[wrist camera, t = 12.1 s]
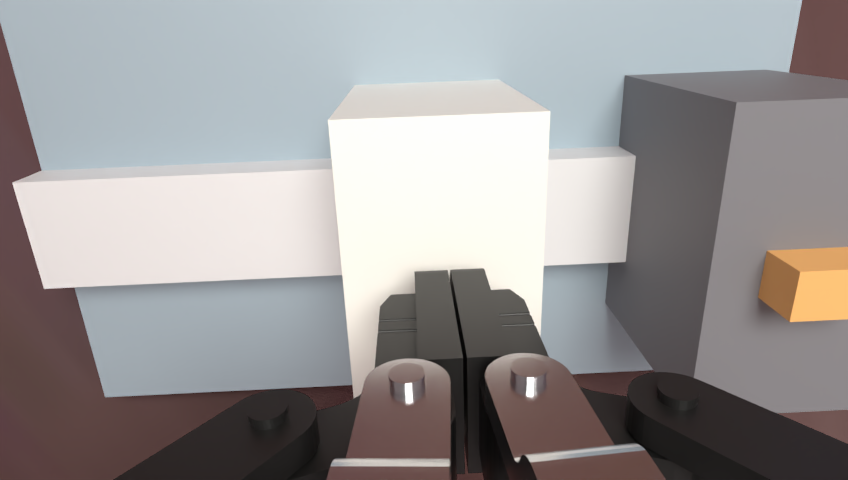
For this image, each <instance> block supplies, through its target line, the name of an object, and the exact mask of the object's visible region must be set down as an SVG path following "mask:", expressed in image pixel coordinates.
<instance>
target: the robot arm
mask: <svg viewBox="0 0 848 480" xmlns="http://www.w3.org/2000/svg"><path fill="white" fill-rule="evenodd" d="M414 273H415V294H394V295H390V296H389V297H388V298H387V299H386V300H385V302H384V303H383V304H382V305H381V306H380V312H379V323H378V335H377V346H376V358H375V369H373V370H372V371H371V372H370V373H369V374H368V376H367V377H366V379H365V381H364V385H363V389H362V393H361V394H360V395H359V396H357V397H356V398H354V399H352V400H350V401H348V402H345V403H343V404H340V405H337V406H333V407H329V408H326V409H322V410H318V411H316V406H315V404H314V402H313V400H312V399H310V398H309V397H308V396H307V395H305V394H303V393H300V392H297V391H293V390H270V391H265V392H261V393H257V394H254V395H252V396H249V397H247V398H245V399H243V400H241V401H240V402H238V403H236V404H235V405H233V406H231V407H230V408H228V409H227V410H225V411H223V412H222V413H220V414H219V415H217V416H215V417H214V418H212V419H211V420H209V421H207V422H206V423H204V424H202V425H201V426H199V427H198V428H196V429H194V430H193V431H191V432H190V433H188V434H186V435H185V436H183V437H181V438H180V439H178V440H177V441H175V442H173V443H172V444H170V445H169V446H167V447H165V448H164V449H162V450H161V451H159V452H157V453H156V454H154V455H152V456H151V457H149V458H148V459H146V460H144V461H143V462H141V463H140V464H138V465H136V466H135V467H133V468H132V469H130V470H128V471H127V472H125V473H123V474H122V475H120V476H119V477H117V478H115V479H114V480H457V474H465V462H464V445H465V452H466V459H467V466H468V473H483V477H484V480H848V444H846V443H844V442H842V441H839V440H837V439H835V438H833V437H830V436H828V435H826V434H823V433H821V432H819V431H816V430H814V429H812V428H809V427H807V426H805V425H802V424H800V423H798V422H796V421H793V420H791V419H789V418H786V417H784V416H782V415H779V414H777V413H775V412H772V411H770V410H768V409H765V408H763V407H761V406H758V405H756V404H754V403H752V402H749V401H747V400H745V399H742V398H740V397H738V396H735V395H733V394H731V393H728V392H726V391H724V390H721V389H719V388H717V387H715V386H712V385H710V384H708V383H705V382H703V381H701V380H698V379H696V378H693V377H690V376H686V375H682V374H677V373H670V372H653V373H648V374H644V375H641V376H639V377H637V378H635V379H634V380H633V381H632V382H631V383H630V385H629V387H628V393H627V397H626V396H620V395H613V394H607V393H600V392H595V391H591V390H587V389H584V388H581V387H579V386H578V384H577V382H576V381H575V379H574V377H573V376H572V374H571V373H570V371H569V370H568V369H567V368H566V367H565V366H564V365H563V364H561V363H560V362H558V361H557V360H554V359H552V358H550V357H549V356H548V353H547V351H546V349H545V346H544V344H543V342H542V340H541V337H540V335H539V333H538V330H537V328H536V326H535V325H534V321H533V319H532V316H531V315H530V312H529V309H528V307H527V305H526V303H525V300H524V299H523V298H521V297H520V296H519V295H517V294H516V293H514V292H513V291H512V290H510V289H499V290H491V288H490V285H489V282H488V279H487V276H486V273H485V270H484V268H477V269H455V270H450V280H449V274H448V270H435V271H414Z"/></svg>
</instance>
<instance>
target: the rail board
mask: <svg viewBox="0 0 848 480" xmlns="http://www.w3.org/2000/svg"><path fill="white" fill-rule="evenodd" d="M801 4H802V0H0V23H1V26H2V30H3V33H4V37H5V41H6V44H7V48H8V51H9V55H10V58H11V62H12V66H13V69H14V73H15V76H16V80H17V84H18V87H19V91H20V94H21V98H22V101H23V105H24V109H25V112H26V116H27V119H28V123H29V126H30V130H31V134H32V137H33V141H34V144H35V148H36V152H37V155H38V159H39V162H40V166H41V169H42V171H40V172H37V173H35V174H32V175H30V176H27V177H25V178H23V179H20V180H18V181H15V182H13V183H12V184H13V187H14V190H15V194H16V197H17V200H18V204H19V207H20V210H21V214H22V217H23V220H24V224H25V227H26V230H27V234H28V237H29V240H30V244H31V247H32V250H33V254H34V257H35V260H36V263H37V267H38V270H39V273H40V277H41V280H42V283H43V287H44V289H50V288H72V287H75V291H76V295H77V298H78V302H79V305H80V309H81V313H82V316H83V320H84V323H85V327H86V330H87V334H88V338H89V341H90V345H91V348H92V352H93V355H94V359H95V363H96V366H97V370H98V373H99V377H100V380H101V384H102V388H103V391H104V395H105V397H120V396H140V395H161V394H181V393H201V392H221V391H241V390H261V389H282V388H302V387H322V386H342V385H352V374H351V363H350V353H349V342H348V331H347V320H346V310H345V299H344V288H343V278H342V267H341V256H340V245H339V235H338V224H337V213H336V202H335V192H334V181H333V170H332V159H331V149H330V138H329V127H328V119H329V118H330V117H331V115H332V114H333V113H334V111H335V110H336V109H337V107H338V106H339V105H340V104H341V102H342V101H343V100H344V98H345V97H346V96H347V94H348V93H349V92H350V91H351V89H352V88H353V87H354V85H368V84H394V83H420V82H446V81H472V80H498V79H499V80H500V81H502V82H504V83H505V84H507V85H508V86H510V87H512V88H513V89H515V90H517V91H518V92H520V93H521V94H523V95H525V96H526V97H528V98H530V99H531V100H533V101H535V102H536V103H538V104H539V105H541V106H543V107H544V108H546V109H548V110H549V111H550V131H549V154H548V177H547V200H546V223H545V246H544V268H543V291H542V314H541V340H542V342H543V344H544V346H545V349H546V351H547V353H548V356H549V357H550V358H552V359H554V360H557V361H558V362H560V363H561V364H563V365H564V366H565V367H566V368H567V369H568V370H569V371H570V373H571V374H584V373H604V372H625V371H645V370H654V372H670V373H677V374H682V375H686V376H690V377H693V378H696V379H698V380H701V381H703V382H705V383H708V384H710V385H712V386H715V387H717V388H719V389H721V390H724V391H726V392H728V393H731V394H733V395H735V396H738V397H740V398H742V399H745V400H747V401H749V402H752V403H754V404H756V405H758V406H761V407H763V408H765V409H768V410H770V411H772V412H775V413H790V412H809V411H829V410H848V80H841V79H833V78H826V77H818V76H811V75H803V74H796V73H789V69H790V63H791V58H792V52H793V47H794V42H795V36H796V31H797V25H798V20H799V14H800V9H801Z"/></svg>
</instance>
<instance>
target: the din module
mask: <svg viewBox="0 0 848 480" xmlns="http://www.w3.org/2000/svg"><path fill="white" fill-rule="evenodd" d="M328 127H329V138H330V149H331V159H332V170H333V181H334V192H335V202H336V213H337V224H338V235H339V245H340V256H341V267H342V278H343V288H344V299H345V310H346V320H347V331H348V342H349V353H350V363H351V374H352V385H353V396H354V398H356V397H357V396H359V395H360V394H361V393H362V389H363V385H364V381H365V379H366V377H367V376H368V374H369V373H370V372H371V371H372V370H373V369H375V358H376V346H377V335H378V323H379V312H380V306H381V305H382V304H383V303H384V302H385V300H386V299H387V298H388V297H389V296H390V295H394V294H415V273H414V271H435V270H448V274H449V280H450V270H455V269H477V268H484V270H485V273H486V276H487V279H488V282H489V285H490V288H491V290H499V289H510V290H512V291H513V292H514V293H516V294H517V295H519V296H520V297H521V298H523V299H524V300H525V303H526V305H527V307H528V309H529V312H530V315H531V316H532V319H533V321H534V325H535V326H536V328H537V330H538V333H539V335H540V337H541V314H542V291H543V268H544V246H545V223H546V200H547V177H548V154H549V131H550V111H549V110H548V109H546V108H544V107H543V106H541V105H539V104H538V103H536V102H535V101H533V100H531V99H530V98H528V97H526V96H525V95H523V94H521V93H520V92H518V91H517V90H515V89H513V88H512V87H510V86H508V85H507V84H505V83H504V82H502V81H500V80H499V79H498V80H472V81H446V82H420V83H394V84H368V85H354V87H353V88H352V89H351V91H350V92H349V93H348V94H347V96H346V97H345V98H344V100H343V101H342V102H341V104H340V105H339V106H338V107H337V109H336V110H335V111H334V113H333V114H332V115H331V117H330V118H329V119H328Z"/></svg>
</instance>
